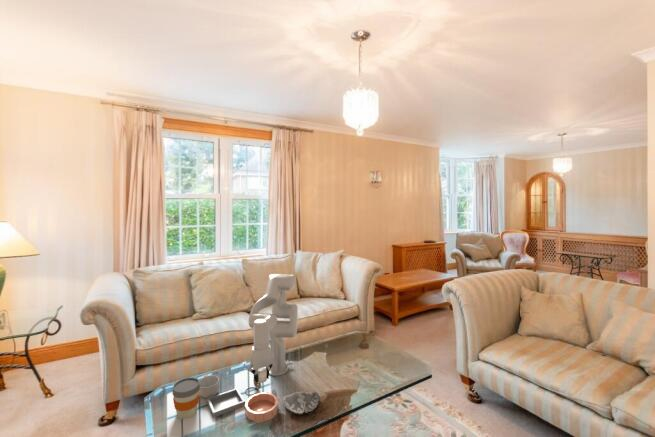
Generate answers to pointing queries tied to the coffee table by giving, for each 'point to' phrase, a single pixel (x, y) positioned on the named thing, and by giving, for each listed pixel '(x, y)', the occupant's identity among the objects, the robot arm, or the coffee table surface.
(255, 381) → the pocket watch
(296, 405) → the brain slice
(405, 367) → the coffee table surface
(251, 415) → the bowl
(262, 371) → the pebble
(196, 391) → the reusable coffee cup
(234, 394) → the tray
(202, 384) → the teacup
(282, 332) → the robot arm
